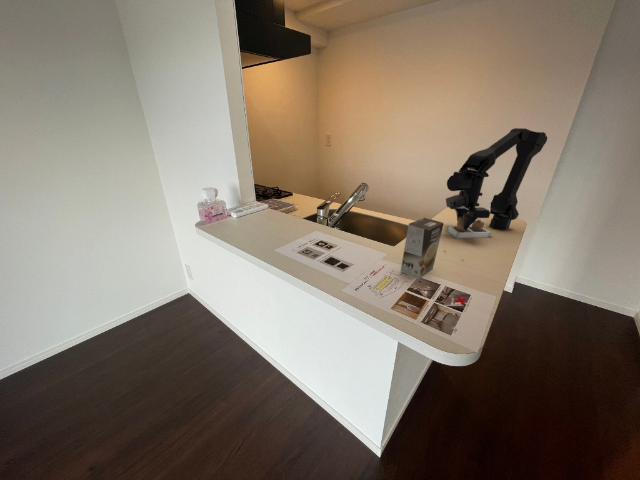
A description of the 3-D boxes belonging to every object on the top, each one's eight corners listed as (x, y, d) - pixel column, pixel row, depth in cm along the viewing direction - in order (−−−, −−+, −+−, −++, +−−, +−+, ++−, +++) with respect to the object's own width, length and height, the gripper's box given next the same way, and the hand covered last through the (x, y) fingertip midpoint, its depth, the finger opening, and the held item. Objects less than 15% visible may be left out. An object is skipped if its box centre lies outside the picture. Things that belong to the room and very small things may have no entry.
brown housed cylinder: (476, 231, 107) (480, 218, 105) (483, 235, 104) (487, 221, 101) (467, 231, 107) (471, 218, 104) (473, 235, 103) (477, 221, 101)
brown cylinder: (463, 227, 106) (466, 213, 103) (468, 231, 102) (472, 217, 100) (453, 227, 106) (457, 214, 103) (459, 231, 102) (463, 217, 100)
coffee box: (418, 280, 76) (428, 230, 69) (399, 271, 80) (407, 223, 73) (433, 269, 81) (444, 222, 75) (415, 262, 86) (423, 216, 79)
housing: (479, 231, 110) (481, 225, 109) (492, 239, 102) (494, 233, 101) (443, 232, 109) (444, 225, 107) (454, 240, 101) (455, 233, 100)
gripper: (439, 183, 105) (432, 219, 111) (466, 195, 88) (455, 237, 95) (465, 183, 106) (456, 219, 112) (496, 195, 89) (484, 236, 95)
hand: (462, 227), depth 104 cm, fingers closed on brown cylinder, 4 cm apart
